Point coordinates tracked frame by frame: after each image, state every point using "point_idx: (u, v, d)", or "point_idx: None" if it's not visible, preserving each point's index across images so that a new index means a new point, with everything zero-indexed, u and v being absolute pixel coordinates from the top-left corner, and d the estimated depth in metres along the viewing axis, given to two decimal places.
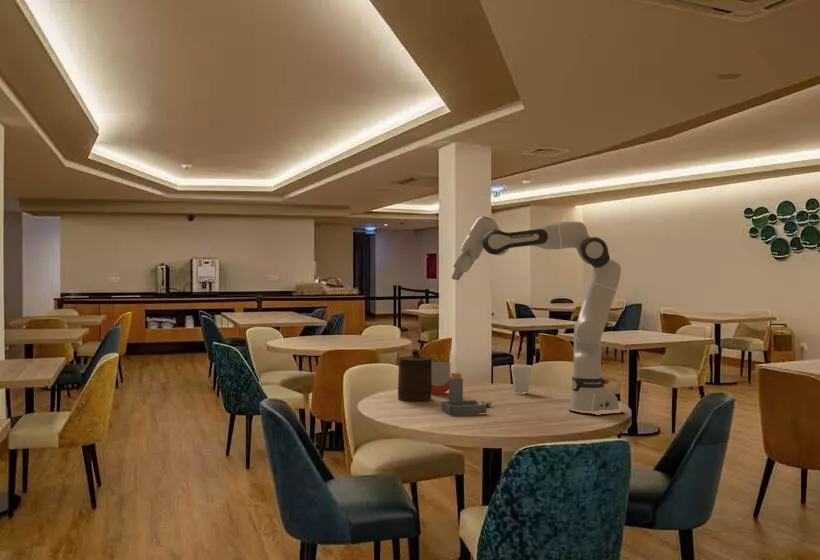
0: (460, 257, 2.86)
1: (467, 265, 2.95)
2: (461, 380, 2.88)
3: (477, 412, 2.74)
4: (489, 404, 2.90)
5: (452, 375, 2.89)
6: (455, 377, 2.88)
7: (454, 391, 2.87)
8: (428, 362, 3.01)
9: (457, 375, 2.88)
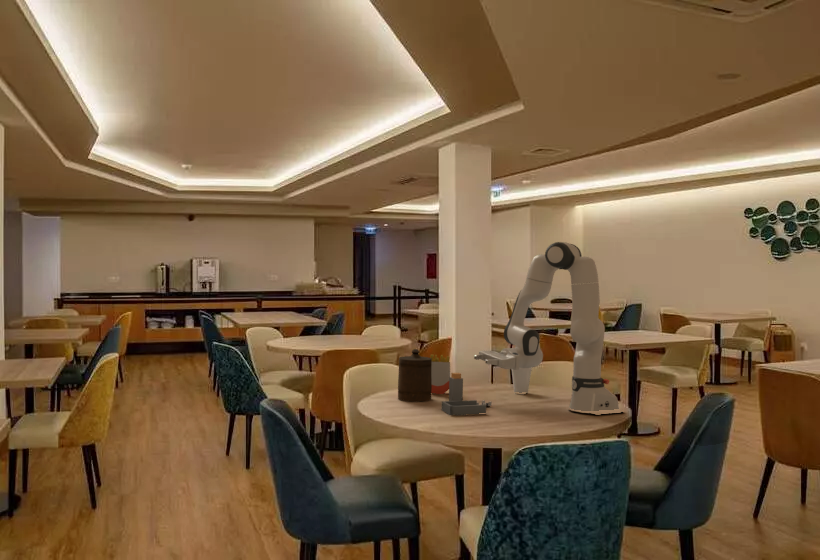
0: None
1: (497, 355, 2.94)
2: (461, 380, 2.88)
3: (477, 412, 2.74)
4: (489, 404, 2.90)
5: (452, 375, 2.89)
6: (455, 377, 2.88)
7: (454, 391, 2.87)
8: (428, 362, 3.01)
9: (457, 375, 2.88)
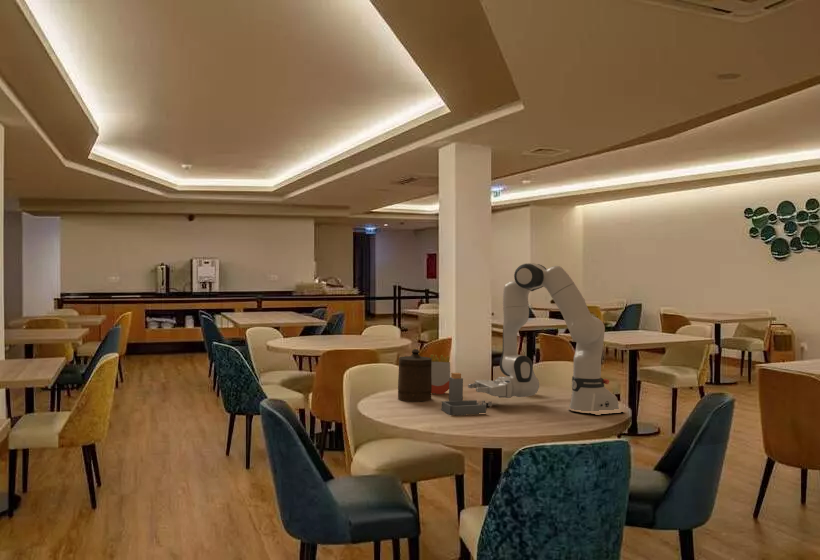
0: None
1: (490, 383, 2.94)
2: (461, 380, 2.88)
3: (477, 412, 2.74)
4: (489, 404, 2.90)
5: (452, 375, 2.89)
6: (455, 377, 2.88)
7: (454, 391, 2.87)
8: (428, 362, 3.01)
9: (457, 375, 2.88)
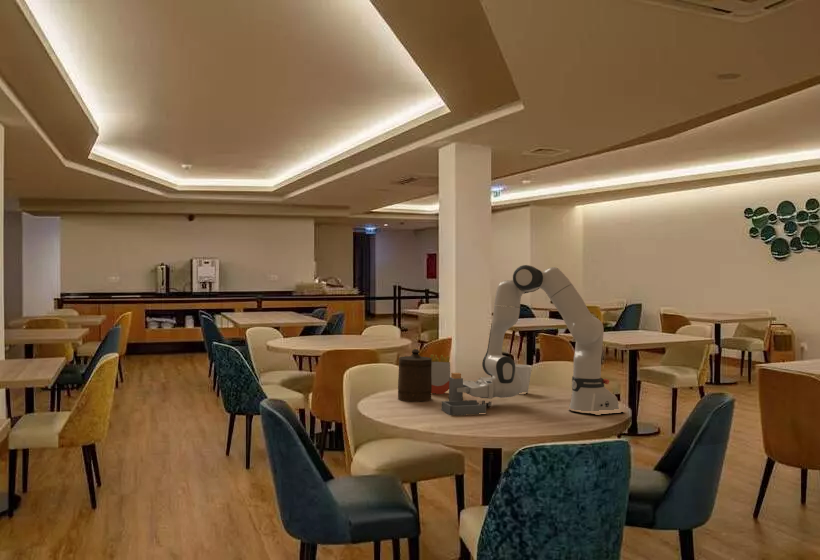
0: None
1: (471, 384, 2.91)
2: (461, 380, 2.88)
3: (477, 412, 2.74)
4: (489, 404, 2.90)
5: (452, 375, 2.89)
6: (455, 377, 2.88)
7: (454, 391, 2.87)
8: (428, 362, 3.01)
9: (457, 375, 2.88)
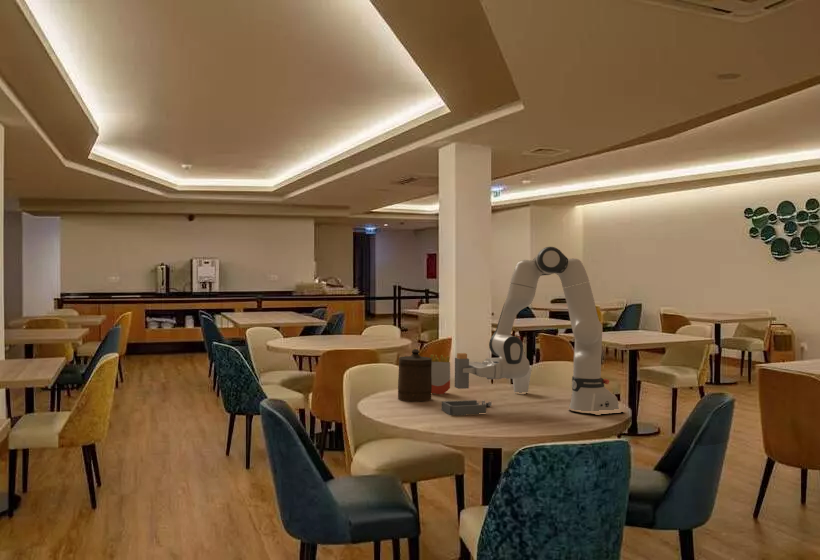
0: None
1: (478, 364, 2.83)
2: (467, 360, 2.80)
3: (477, 412, 2.74)
4: (489, 404, 2.90)
5: (458, 355, 2.82)
6: (461, 357, 2.80)
7: (460, 371, 2.79)
8: (428, 362, 3.01)
9: (463, 355, 2.80)
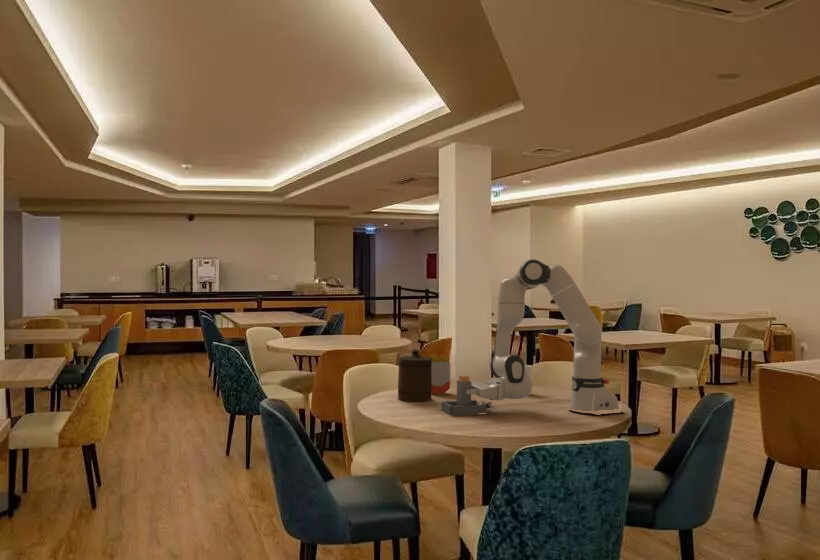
0: None
1: (480, 385, 2.80)
2: (469, 383, 2.76)
3: (477, 412, 2.74)
4: (489, 404, 2.90)
5: (460, 378, 2.78)
6: (463, 380, 2.76)
7: (463, 394, 2.76)
8: (428, 362, 3.01)
9: (465, 378, 2.76)
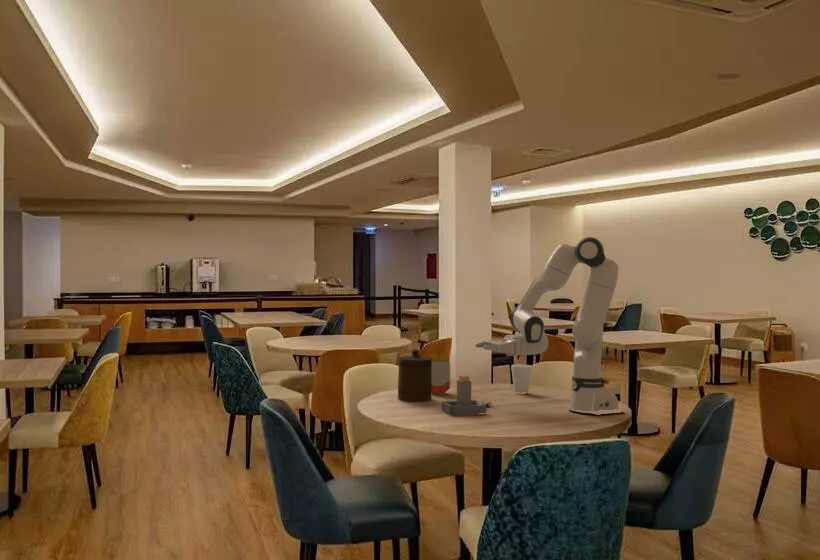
0: None
1: (497, 341, 2.90)
2: (469, 383, 2.76)
3: (477, 412, 2.74)
4: (489, 404, 2.90)
5: (460, 378, 2.78)
6: (463, 380, 2.76)
7: (463, 394, 2.76)
8: (428, 362, 3.01)
9: (465, 378, 2.76)
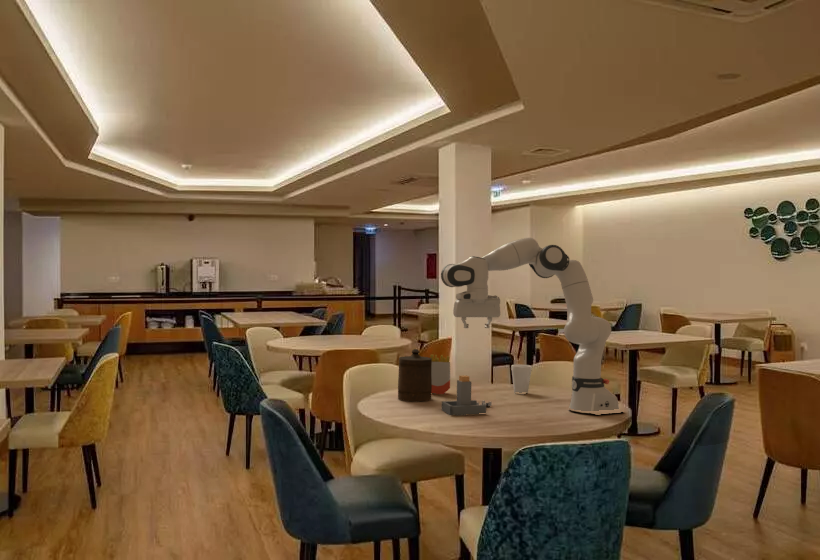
0: None
1: None
2: (469, 383, 2.76)
3: (477, 412, 2.74)
4: (489, 404, 2.90)
5: (460, 378, 2.78)
6: (463, 380, 2.76)
7: (463, 394, 2.76)
8: (428, 362, 3.01)
9: (465, 378, 2.76)
